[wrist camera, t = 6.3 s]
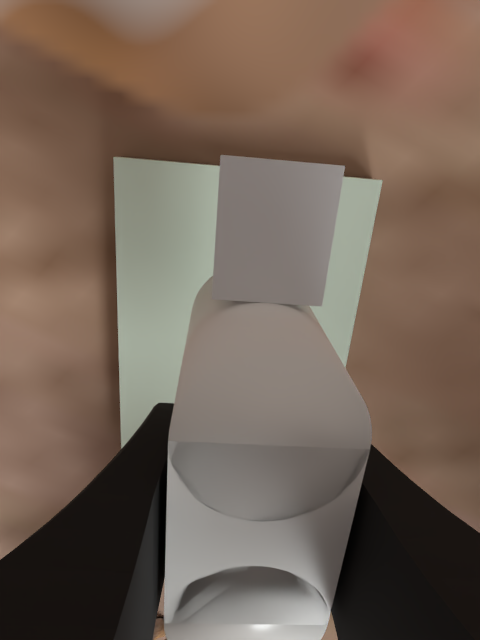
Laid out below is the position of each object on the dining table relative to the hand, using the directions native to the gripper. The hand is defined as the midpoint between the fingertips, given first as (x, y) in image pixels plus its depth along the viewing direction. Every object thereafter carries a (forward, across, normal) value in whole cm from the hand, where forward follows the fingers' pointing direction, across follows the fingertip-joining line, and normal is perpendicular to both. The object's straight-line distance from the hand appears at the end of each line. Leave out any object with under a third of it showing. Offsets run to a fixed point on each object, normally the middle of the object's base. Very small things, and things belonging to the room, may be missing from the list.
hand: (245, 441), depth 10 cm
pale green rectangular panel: (+8, 0, 0) cm, 8 cm away
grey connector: (+2, 0, -2) cm, 2 cm away
